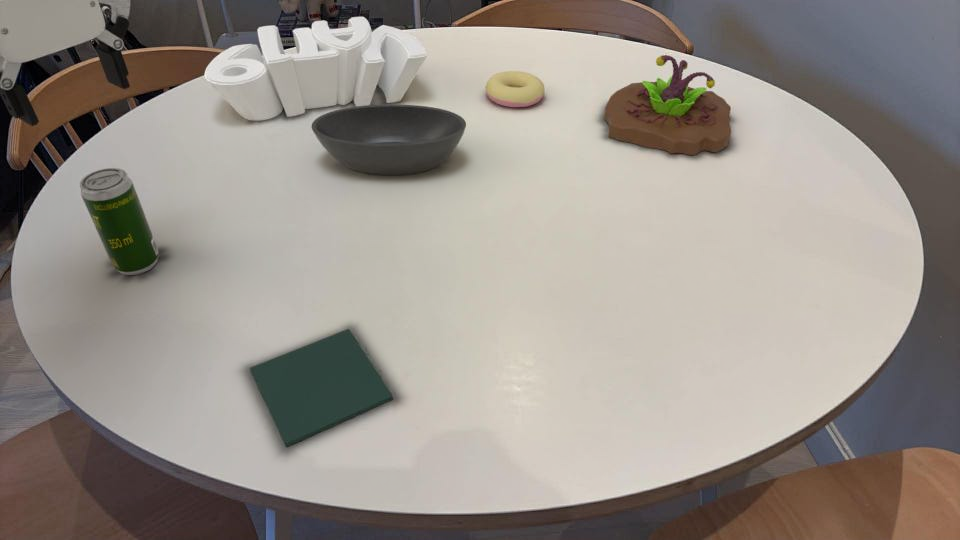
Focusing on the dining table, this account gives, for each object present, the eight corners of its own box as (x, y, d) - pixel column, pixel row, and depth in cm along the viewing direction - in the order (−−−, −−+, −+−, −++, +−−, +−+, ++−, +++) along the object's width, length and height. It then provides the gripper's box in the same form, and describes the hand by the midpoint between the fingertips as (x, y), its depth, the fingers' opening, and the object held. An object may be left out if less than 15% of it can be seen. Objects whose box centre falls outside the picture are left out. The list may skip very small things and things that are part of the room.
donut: (528, 125, 116) (550, 95, 122) (532, 103, 113) (554, 73, 118) (475, 104, 119) (499, 76, 124) (477, 82, 115) (501, 53, 120)
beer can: (154, 243, 88) (123, 162, 81) (165, 266, 85) (134, 183, 77) (109, 258, 86) (73, 176, 78) (119, 282, 83) (82, 198, 75)
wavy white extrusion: (416, 67, 129) (412, 10, 122) (432, 108, 116) (429, 46, 110) (219, 87, 122) (203, 27, 116) (214, 132, 110) (197, 69, 103)
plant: (613, 88, 122) (621, 25, 115) (728, 102, 118) (745, 37, 111) (596, 144, 107) (604, 75, 100) (727, 162, 103) (746, 92, 96)
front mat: (286, 447, 65) (285, 444, 65) (250, 370, 72) (249, 367, 72) (393, 399, 69) (392, 395, 69) (349, 331, 77) (348, 328, 76)
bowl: (465, 184, 99) (464, 146, 95) (310, 183, 99) (303, 145, 95) (467, 141, 108) (467, 104, 104) (325, 140, 108) (320, 103, 104)
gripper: (73, -107, 67) (131, 63, 78) (-132, -65, 56) (-31, 125, 67) (117, -95, 63) (172, 82, 74) (-92, -48, 53) (7, 149, 64)
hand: (75, 102), depth 71 cm, fingers open, 9 cm apart
